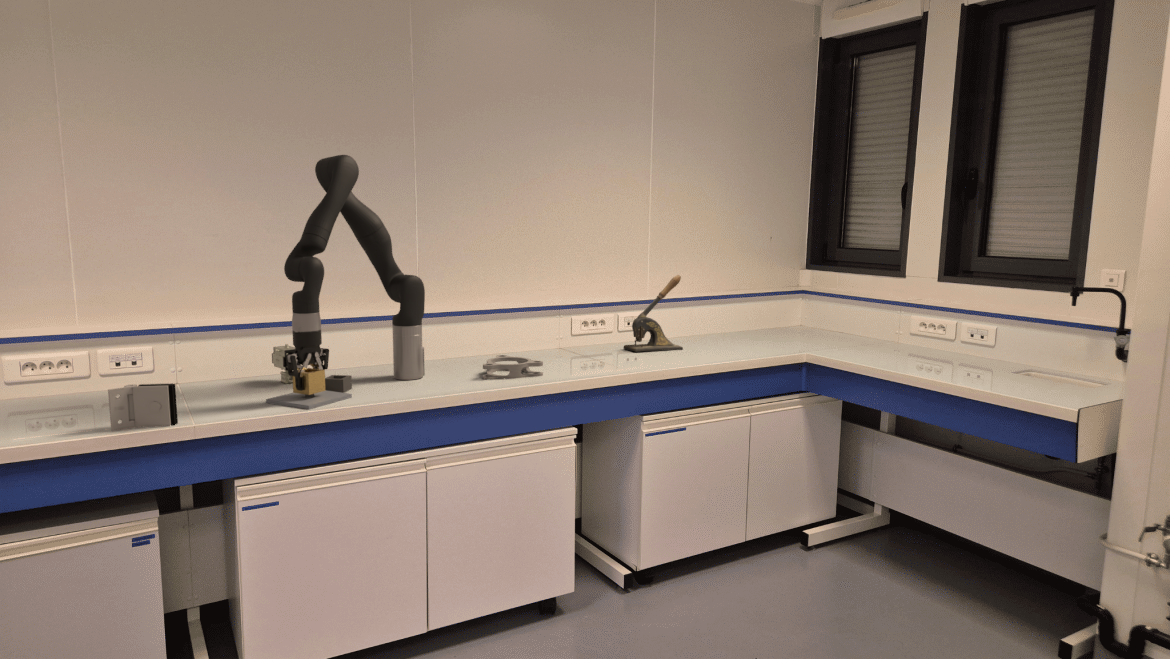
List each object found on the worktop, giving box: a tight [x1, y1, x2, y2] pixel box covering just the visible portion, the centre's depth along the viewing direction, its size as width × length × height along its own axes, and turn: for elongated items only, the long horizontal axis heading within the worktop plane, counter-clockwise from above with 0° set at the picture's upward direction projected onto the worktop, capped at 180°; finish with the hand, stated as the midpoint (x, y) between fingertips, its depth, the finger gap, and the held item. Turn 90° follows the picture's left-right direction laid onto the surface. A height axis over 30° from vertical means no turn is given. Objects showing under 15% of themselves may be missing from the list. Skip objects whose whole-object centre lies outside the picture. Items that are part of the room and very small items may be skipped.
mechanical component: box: [482, 354, 544, 380], centre depth 253 cm, size 20×19×5 cm
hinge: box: [107, 382, 179, 432], centre depth 183 cm, size 14×5×10 cm, turn 113°
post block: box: [265, 390, 353, 410], centre depth 211 cm, size 16×16×6 cm
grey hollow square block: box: [325, 374, 353, 393], centre depth 224 cm, size 6×6×4 cm
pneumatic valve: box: [271, 343, 302, 384], centre depth 234 cm, size 6×12×12 cm, turn 45°
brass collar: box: [292, 367, 326, 395], centre depth 211 cm, size 6×6×6 cm
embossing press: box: [623, 274, 684, 353], centre depth 302 cm, size 11×24×30 cm, turn 113°
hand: (309, 387), depth 211 cm, fingers closed on brass collar, 6 cm apart
